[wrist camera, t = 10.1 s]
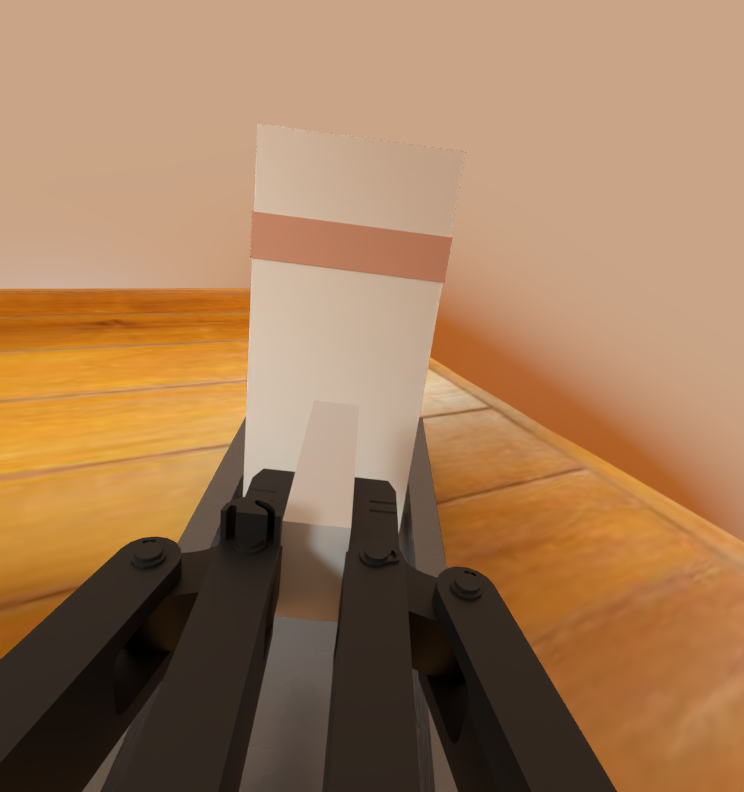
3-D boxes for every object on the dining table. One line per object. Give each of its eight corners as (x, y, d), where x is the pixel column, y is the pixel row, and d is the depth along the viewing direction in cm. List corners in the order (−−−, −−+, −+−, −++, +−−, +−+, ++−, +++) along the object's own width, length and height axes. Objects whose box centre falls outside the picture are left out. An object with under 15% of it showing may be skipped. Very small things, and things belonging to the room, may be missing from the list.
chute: (478, 970, 12) (502, 908, 11) (20, 931, 12) (5, 864, 11) (416, 453, 34) (422, 418, 34) (254, 434, 34) (255, 398, 33)
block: (398, 539, 25) (467, 152, 18) (240, 521, 24) (255, 122, 18) (395, 469, 30) (446, 154, 24) (266, 454, 30) (285, 132, 24)
